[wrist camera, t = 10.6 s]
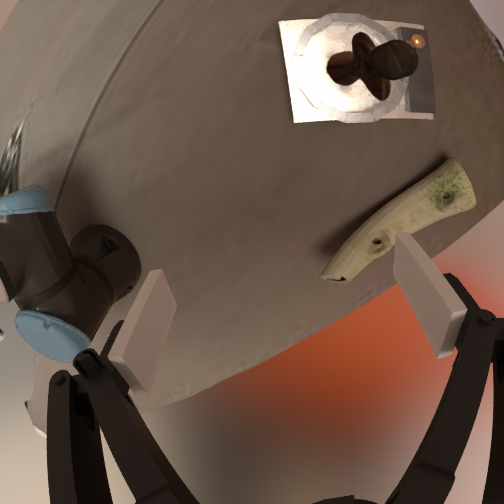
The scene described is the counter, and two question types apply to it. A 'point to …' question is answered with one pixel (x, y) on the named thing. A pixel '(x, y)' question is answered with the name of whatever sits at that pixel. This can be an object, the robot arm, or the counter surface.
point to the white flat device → (357, 95)
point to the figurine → (373, 64)
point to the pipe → (403, 219)
